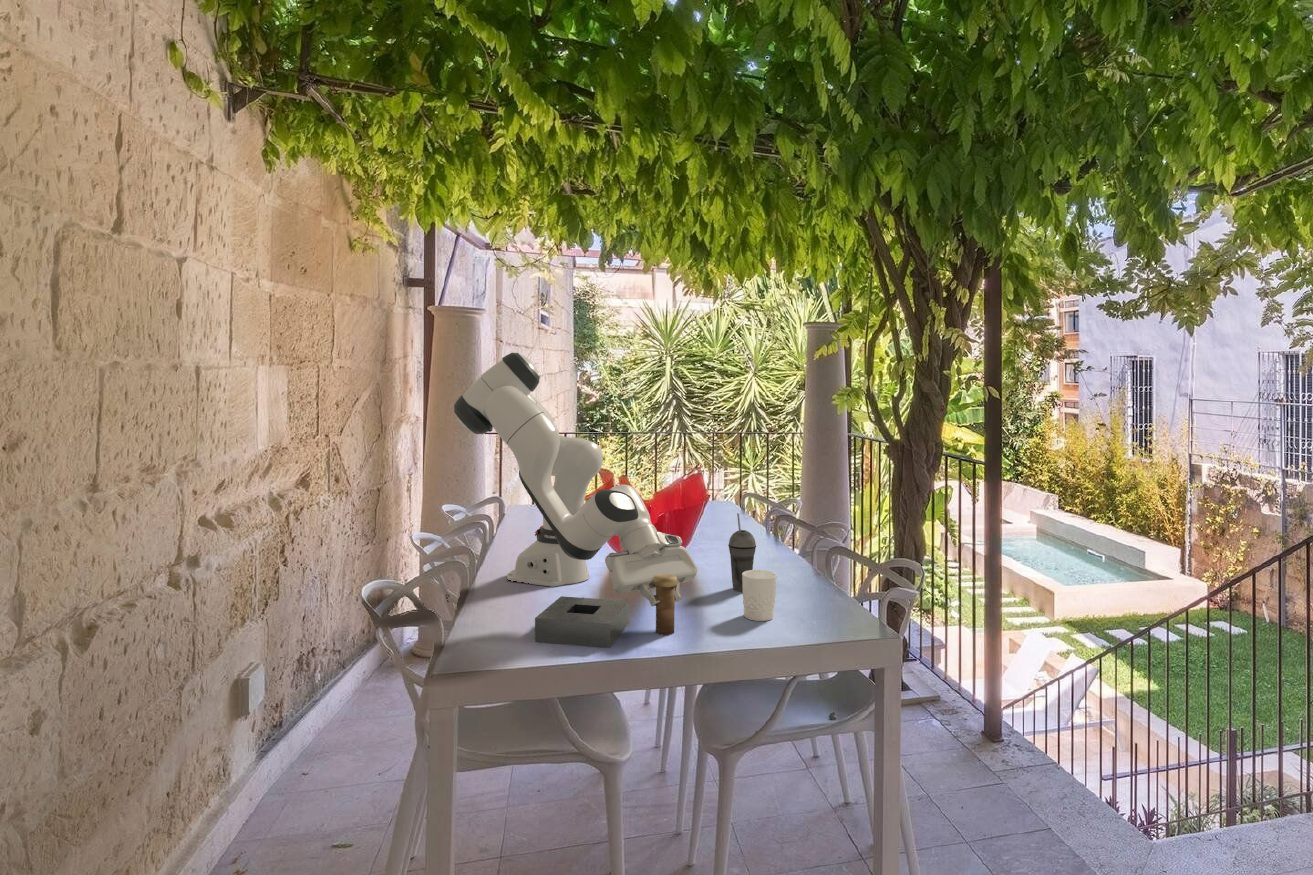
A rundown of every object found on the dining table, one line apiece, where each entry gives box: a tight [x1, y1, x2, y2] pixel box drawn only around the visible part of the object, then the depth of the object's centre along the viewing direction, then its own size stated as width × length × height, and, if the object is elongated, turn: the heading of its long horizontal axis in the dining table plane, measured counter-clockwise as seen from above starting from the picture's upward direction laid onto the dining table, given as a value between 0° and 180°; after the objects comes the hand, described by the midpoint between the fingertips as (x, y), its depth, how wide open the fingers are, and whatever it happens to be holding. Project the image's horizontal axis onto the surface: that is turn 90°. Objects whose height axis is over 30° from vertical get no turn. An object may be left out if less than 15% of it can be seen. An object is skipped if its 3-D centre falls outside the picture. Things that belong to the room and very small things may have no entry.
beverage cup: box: [727, 513, 757, 593], centre depth 189 cm, size 7×7×20 cm
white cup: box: [742, 569, 778, 622], centre depth 167 cm, size 8×8×10 cm
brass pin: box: [654, 574, 677, 636], centre depth 156 cm, size 5×5×12 cm
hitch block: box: [534, 596, 630, 649], centre depth 156 cm, size 16×16×5 cm
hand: (666, 602), depth 156 cm, fingers closed on brass pin, 4 cm apart
